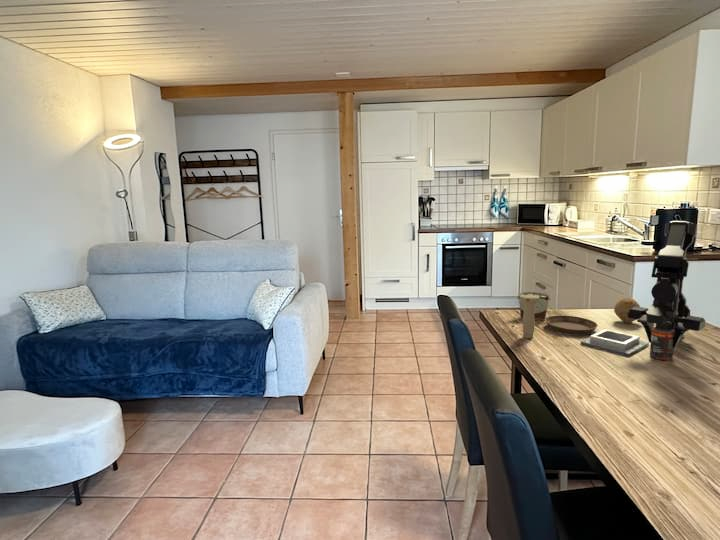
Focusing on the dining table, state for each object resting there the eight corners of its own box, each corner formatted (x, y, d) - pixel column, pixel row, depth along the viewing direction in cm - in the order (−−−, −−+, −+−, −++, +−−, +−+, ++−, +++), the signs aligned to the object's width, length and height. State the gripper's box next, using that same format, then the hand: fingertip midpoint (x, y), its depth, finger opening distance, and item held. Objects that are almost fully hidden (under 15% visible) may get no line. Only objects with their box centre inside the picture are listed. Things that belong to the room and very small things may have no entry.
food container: (548, 315, 180) (549, 292, 179) (549, 320, 175) (550, 295, 173) (516, 313, 184) (517, 291, 183) (516, 318, 179) (517, 294, 177)
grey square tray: (601, 334, 156) (601, 326, 155) (648, 345, 144) (649, 336, 143) (580, 344, 147) (581, 335, 146) (628, 356, 135) (629, 347, 134)
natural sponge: (607, 319, 173) (609, 295, 171) (628, 318, 174) (630, 294, 172) (623, 326, 164) (625, 300, 162) (645, 325, 165) (647, 299, 163)
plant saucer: (598, 326, 166) (599, 318, 165) (594, 340, 151) (595, 331, 151) (549, 320, 175) (549, 313, 175) (540, 332, 160) (541, 324, 160)
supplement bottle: (674, 356, 134) (678, 321, 132) (671, 362, 130) (674, 326, 128) (651, 352, 138) (654, 318, 136) (647, 358, 134) (650, 322, 132)
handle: (536, 340, 151) (537, 299, 149) (517, 337, 155) (518, 297, 152) (538, 336, 155) (540, 296, 153) (520, 334, 159) (521, 294, 156)
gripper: (621, 294, 133) (617, 343, 136) (695, 306, 118) (689, 360, 121) (636, 288, 139) (632, 335, 142) (708, 299, 125) (702, 350, 127)
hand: (662, 344), depth 133 cm, fingers closed on supplement bottle, 6 cm apart
